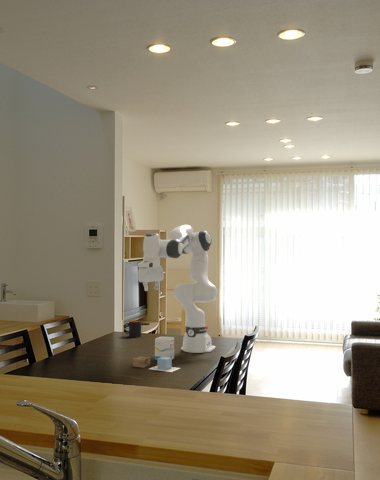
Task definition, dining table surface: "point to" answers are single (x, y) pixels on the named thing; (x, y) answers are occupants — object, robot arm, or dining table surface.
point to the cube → (164, 363)
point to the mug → (134, 328)
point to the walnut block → (141, 362)
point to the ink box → (164, 347)
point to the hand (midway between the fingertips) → (151, 290)
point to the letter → (165, 370)
